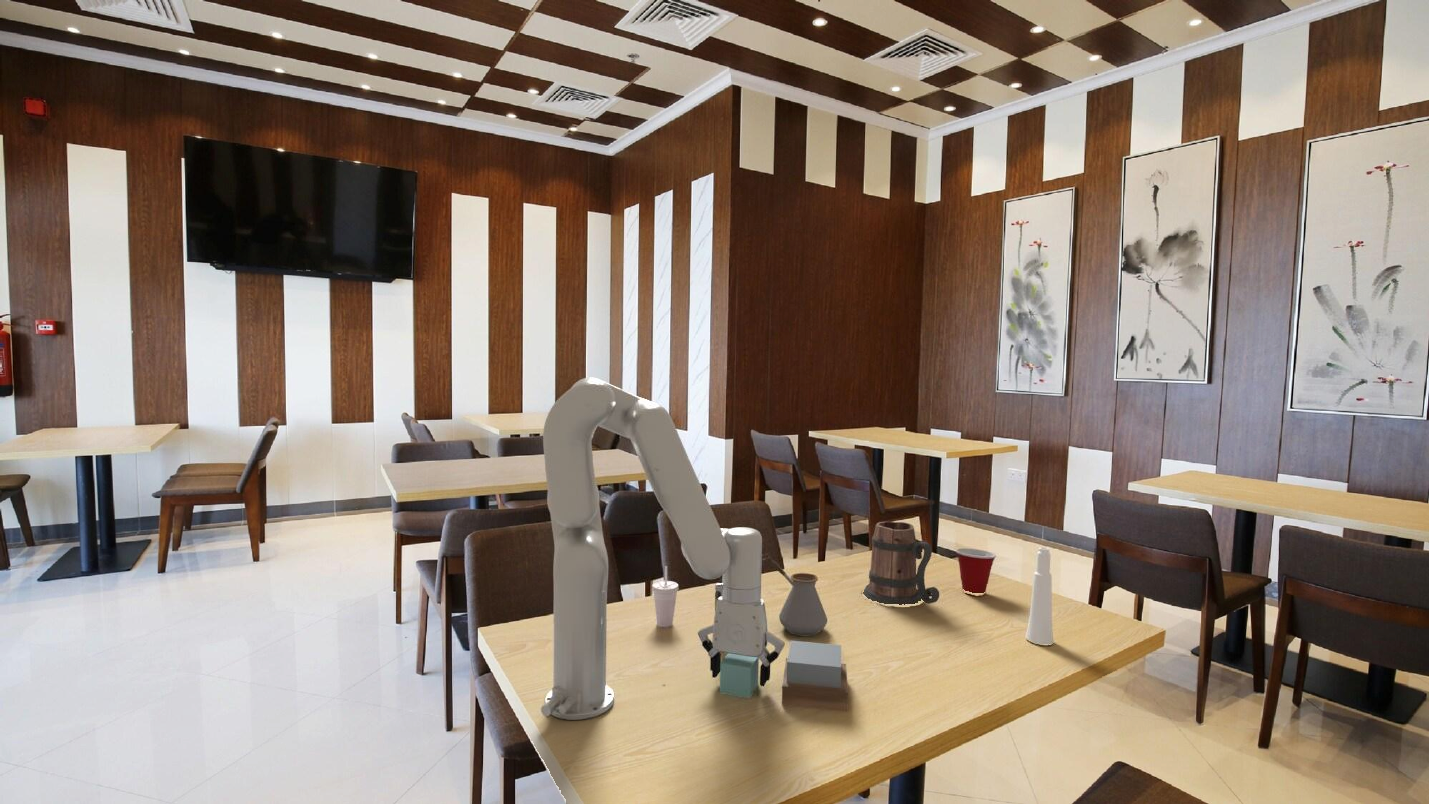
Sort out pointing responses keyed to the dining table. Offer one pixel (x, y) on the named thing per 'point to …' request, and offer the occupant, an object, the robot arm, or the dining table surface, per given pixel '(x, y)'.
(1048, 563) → the cosmetic bottle
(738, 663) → the teal cube
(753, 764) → the dining table surface
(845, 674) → the bottom block
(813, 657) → the top block
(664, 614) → the smoothie
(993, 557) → the plastic cup
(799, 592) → the coffee pot
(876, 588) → the tankard
